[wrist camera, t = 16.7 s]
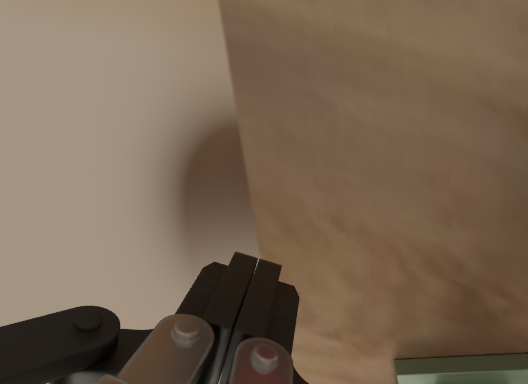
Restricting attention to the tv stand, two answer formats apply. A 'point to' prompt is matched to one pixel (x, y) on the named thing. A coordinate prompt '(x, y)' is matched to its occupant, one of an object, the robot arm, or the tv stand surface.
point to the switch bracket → (464, 370)
